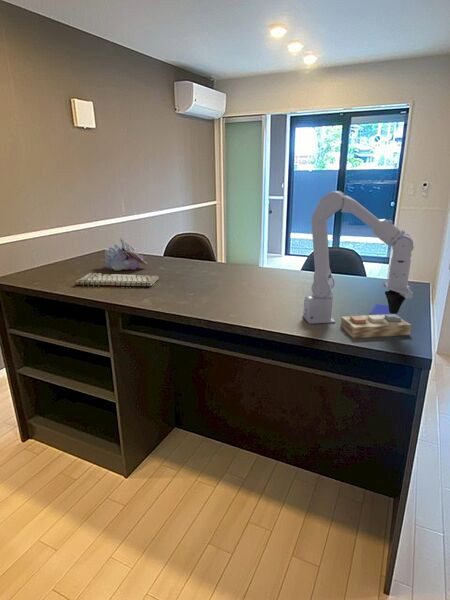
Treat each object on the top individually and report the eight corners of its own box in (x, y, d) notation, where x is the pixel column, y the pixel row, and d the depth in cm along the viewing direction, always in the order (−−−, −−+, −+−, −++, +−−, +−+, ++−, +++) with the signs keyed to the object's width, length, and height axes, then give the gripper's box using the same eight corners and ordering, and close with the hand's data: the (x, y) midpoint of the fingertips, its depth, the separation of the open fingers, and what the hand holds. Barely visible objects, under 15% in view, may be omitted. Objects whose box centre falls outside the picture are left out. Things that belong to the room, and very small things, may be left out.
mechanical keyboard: (161, 279, 193) (160, 272, 192) (152, 290, 175) (151, 283, 174) (87, 278, 196) (86, 272, 195) (71, 289, 178) (70, 282, 176)
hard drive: (393, 317, 137) (398, 307, 147) (369, 313, 141) (375, 303, 151) (392, 321, 137) (397, 311, 147) (368, 317, 141) (375, 307, 151)
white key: (372, 325, 125) (373, 319, 124) (367, 321, 128) (367, 315, 128) (382, 324, 125) (383, 318, 125) (377, 320, 129) (378, 314, 128)
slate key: (389, 324, 126) (390, 318, 125) (384, 320, 129) (384, 314, 128) (400, 323, 126) (401, 317, 125) (394, 319, 129) (395, 314, 129)
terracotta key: (354, 325, 124) (355, 320, 124) (350, 321, 128) (350, 316, 127) (365, 325, 125) (366, 319, 124) (360, 321, 128) (360, 315, 127)
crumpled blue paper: (101, 257, 219) (99, 232, 206) (138, 252, 228) (139, 228, 215) (109, 282, 207) (108, 258, 195) (148, 276, 216) (150, 252, 203)
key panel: (353, 337, 122) (354, 327, 121) (340, 326, 131) (341, 316, 130) (409, 334, 124) (411, 324, 123) (392, 323, 134) (394, 314, 132)
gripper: (424, 278, 116) (417, 320, 120) (398, 267, 130) (393, 305, 134) (402, 279, 115) (396, 321, 119) (378, 268, 129) (373, 306, 133)
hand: (393, 313), depth 127 cm, fingers closed
